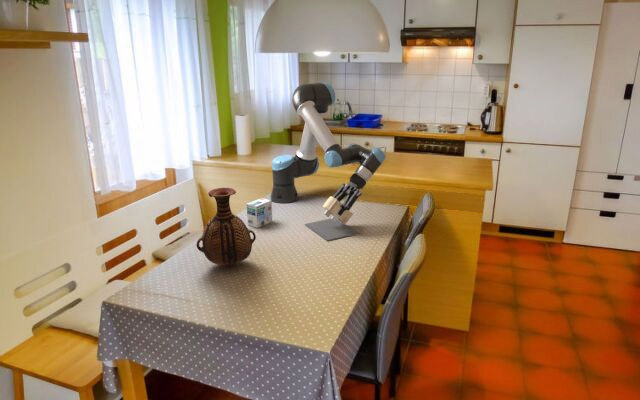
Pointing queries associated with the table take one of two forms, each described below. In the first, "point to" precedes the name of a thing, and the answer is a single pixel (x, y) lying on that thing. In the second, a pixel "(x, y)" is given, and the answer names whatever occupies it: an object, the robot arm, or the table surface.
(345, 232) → the mat
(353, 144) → the robot arm
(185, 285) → the table surface
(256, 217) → the light bulb box
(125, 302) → the table surface
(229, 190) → the vase
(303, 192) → the table surface
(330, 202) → the beech block
